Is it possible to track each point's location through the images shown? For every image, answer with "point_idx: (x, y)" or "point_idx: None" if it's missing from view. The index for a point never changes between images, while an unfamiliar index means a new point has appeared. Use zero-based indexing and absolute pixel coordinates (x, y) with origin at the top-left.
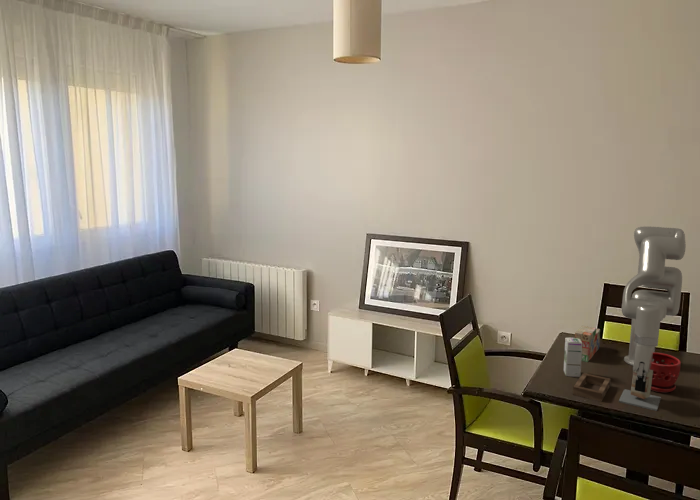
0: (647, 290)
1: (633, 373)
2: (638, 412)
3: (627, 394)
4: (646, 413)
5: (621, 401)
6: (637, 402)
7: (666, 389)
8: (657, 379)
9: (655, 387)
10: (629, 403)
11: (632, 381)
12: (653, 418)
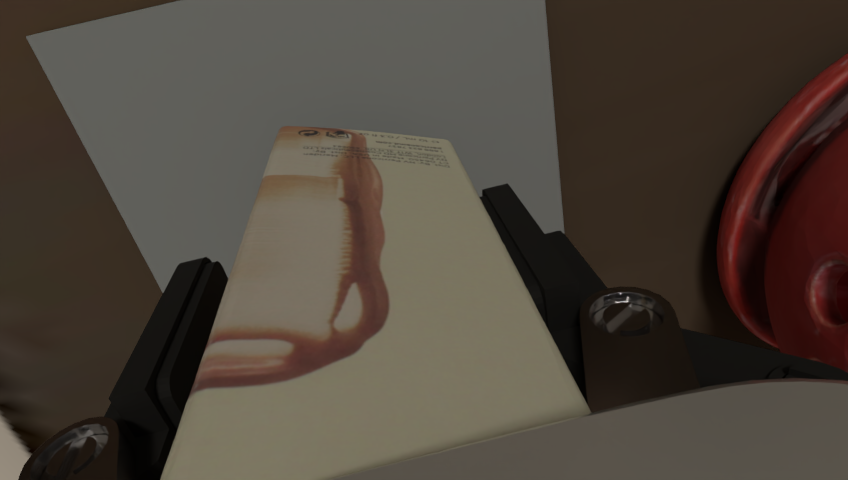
0: None
1: (201, 369)
2: (5, 314)
3: (362, 40)
4: (71, 366)
5: (47, 75)
6: (214, 231)
7: (751, 327)
8: (801, 337)
9: (748, 241)
10: (103, 173)
11: (246, 232)
12: (28, 438)
